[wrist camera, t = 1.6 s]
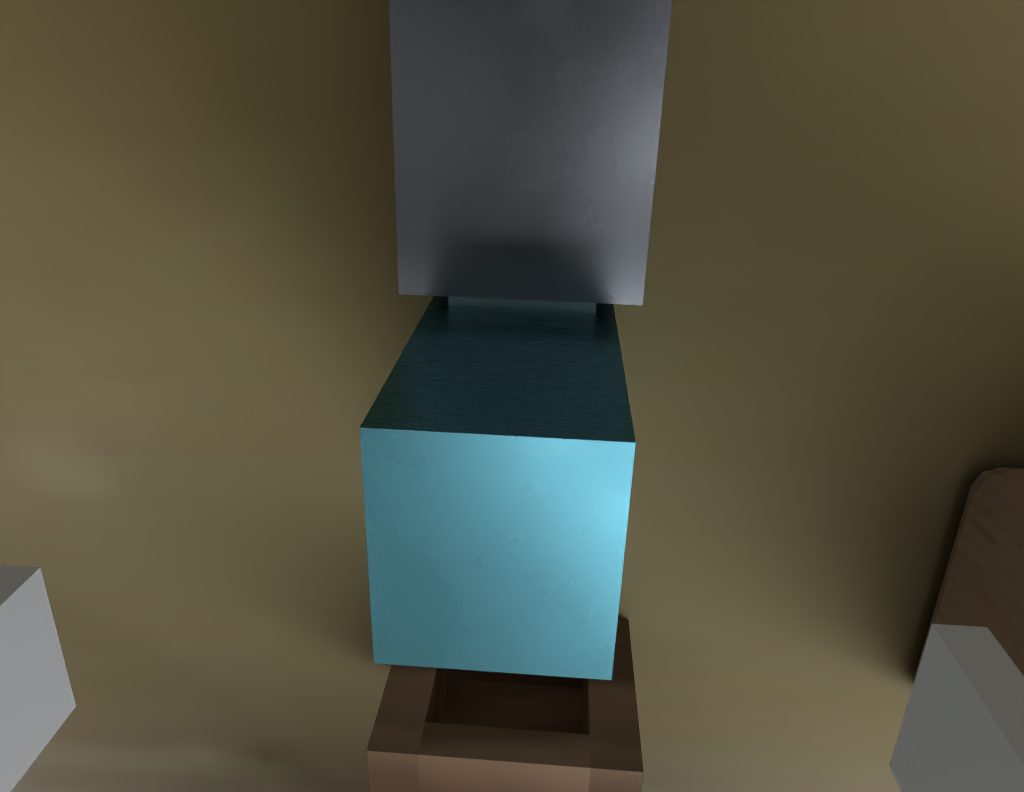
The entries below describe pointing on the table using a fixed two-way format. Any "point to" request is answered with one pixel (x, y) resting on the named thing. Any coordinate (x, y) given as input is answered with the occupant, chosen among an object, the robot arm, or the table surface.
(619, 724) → the socket
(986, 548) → the wooden block
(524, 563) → the teal square post
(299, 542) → the table surface
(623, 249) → the grey rectangular block
